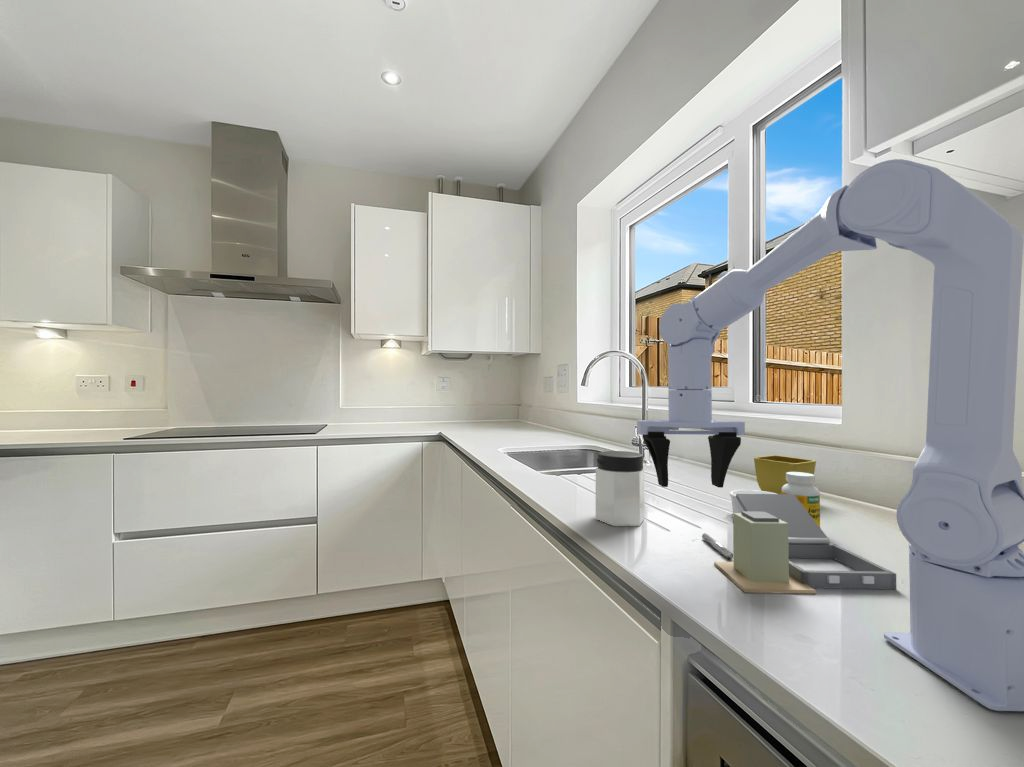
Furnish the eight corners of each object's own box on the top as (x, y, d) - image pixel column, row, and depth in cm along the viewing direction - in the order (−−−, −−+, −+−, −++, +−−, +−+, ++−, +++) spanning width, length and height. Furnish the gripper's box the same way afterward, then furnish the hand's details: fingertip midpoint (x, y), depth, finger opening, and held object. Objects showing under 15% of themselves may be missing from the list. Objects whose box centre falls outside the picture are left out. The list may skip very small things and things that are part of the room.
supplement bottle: (790, 524, 76) (790, 469, 76) (826, 532, 71) (825, 474, 71) (775, 529, 73) (775, 472, 73) (811, 538, 68) (811, 478, 68)
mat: (815, 593, 49) (815, 590, 49) (745, 592, 50) (745, 589, 50) (774, 565, 57) (774, 562, 57) (714, 564, 57) (714, 561, 57)
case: (898, 590, 50) (898, 574, 50) (805, 588, 50) (804, 573, 51) (834, 556, 61) (834, 543, 61) (757, 555, 61) (757, 542, 61)
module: (788, 582, 51) (788, 520, 52) (751, 581, 51) (751, 519, 52) (767, 567, 56) (767, 510, 56) (733, 566, 56) (733, 509, 56)
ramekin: (726, 519, 79) (726, 495, 79) (734, 508, 86) (733, 487, 86) (783, 528, 74) (782, 502, 74) (786, 516, 81) (785, 493, 81)
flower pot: (817, 502, 91) (817, 460, 91) (795, 507, 87) (795, 463, 87) (775, 493, 99) (774, 454, 99) (752, 498, 94) (752, 457, 94)
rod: (733, 559, 59) (733, 552, 59) (726, 559, 59) (726, 552, 59) (708, 539, 67) (708, 533, 67) (702, 539, 67) (701, 533, 67)
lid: (830, 557, 60) (829, 507, 60) (765, 556, 60) (764, 506, 61) (792, 537, 69) (792, 493, 69) (735, 536, 69) (735, 493, 69)
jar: (604, 511, 84) (604, 449, 84) (647, 516, 80) (647, 452, 80) (590, 523, 76) (590, 455, 76) (637, 530, 72) (637, 458, 72)
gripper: (727, 390, 65) (728, 480, 65) (631, 390, 65) (631, 479, 65) (752, 390, 58) (753, 491, 58) (644, 389, 58) (644, 490, 58)
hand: (690, 485), depth 61 cm, fingers open, 7 cm apart
